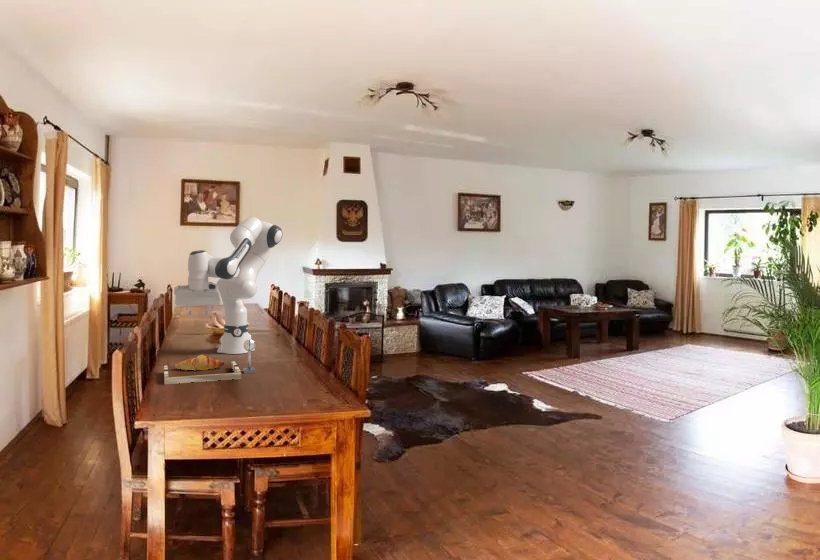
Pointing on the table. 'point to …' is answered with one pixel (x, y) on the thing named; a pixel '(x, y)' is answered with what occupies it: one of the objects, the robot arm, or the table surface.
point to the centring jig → (202, 376)
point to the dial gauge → (249, 356)
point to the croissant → (199, 363)
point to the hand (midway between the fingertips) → (198, 314)
